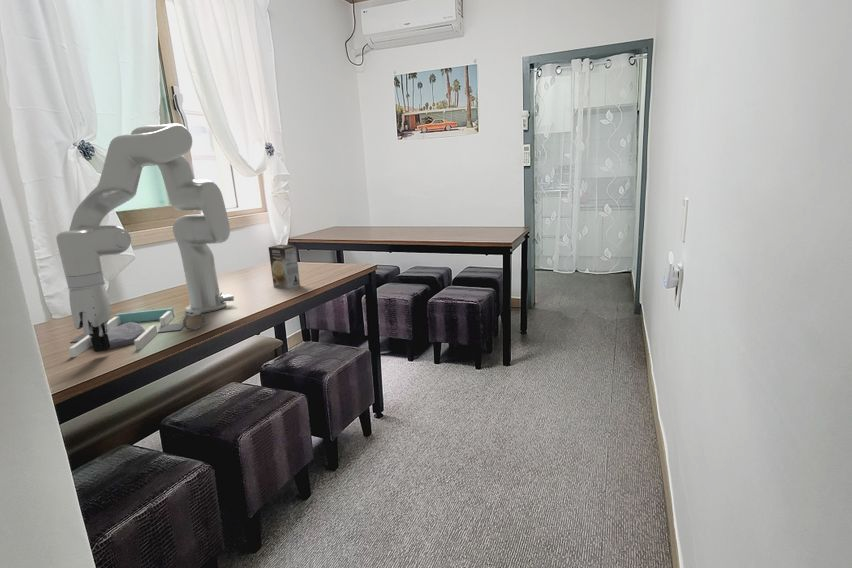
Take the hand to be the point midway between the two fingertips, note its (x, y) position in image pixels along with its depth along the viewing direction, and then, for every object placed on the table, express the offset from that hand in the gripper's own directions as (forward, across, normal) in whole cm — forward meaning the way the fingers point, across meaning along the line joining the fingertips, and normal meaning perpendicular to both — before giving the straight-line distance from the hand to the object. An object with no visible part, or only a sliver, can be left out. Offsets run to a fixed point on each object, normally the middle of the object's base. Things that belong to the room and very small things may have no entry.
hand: (102, 349), depth 119 cm
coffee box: (+2, -58, +42) cm, 72 cm away
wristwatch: (+2, -15, +18) cm, 24 cm away
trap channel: (+2, -16, 0) cm, 16 cm away
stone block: (+2, -10, 0) cm, 11 cm away
